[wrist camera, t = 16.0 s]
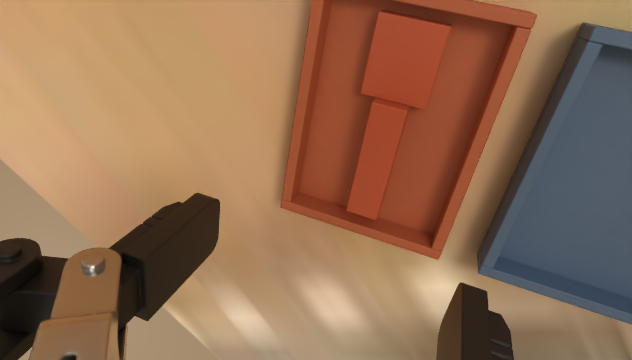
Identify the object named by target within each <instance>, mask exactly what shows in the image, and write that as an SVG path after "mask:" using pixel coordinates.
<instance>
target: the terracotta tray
mask: <svg viewBox="0 0 632 360" xmlns="http://www.w3.org/2000/svg"><path fill="white" fill-rule="evenodd" d="M382 10H386V11H390V12H395V13H400V14H405V15H410V16H414V17H419V18H424V19H429V20H433V21H438V22H443V23H448V24H451V25H452V26H451V29H450V33H449V36H448V39H447V42H446V46H445V49H444V52H443V55H442V59H441V62H440V65H439V68H438V72H437V75H436V78H435V81H434V85H433V88H432V91H431V94H430V98H429V101H428V104H427V107H426V110H422V109H418V108H414V107H411V106H410V110H409V113H408V117H407V120H406V124H405V127H404V131H403V134H402V138H401V141H400V145H399V148H398V152H397V155H396V158H395V162H394V165H393V169H392V172H391V176H390V179H389V183H388V186H387V190H386V193H385V197H384V200H383V204H382V206H381V209H380V212H379V214H378V217H377V219H376V220H374V219H371V218H367V217H364V216H361V215H358V214H355V213H352V212H349V211H346V208H347V204H348V200H349V195H350V191H351V187H352V183H353V179H354V175H355V170H356V166H357V162H358V158H359V154H360V150H361V145H362V141H363V137H364V133H365V129H366V125H367V120H368V116H369V112H370V108H371V104H372V102H373V100H374V99H375V97H371V96H368V95H364V94H361V93H360V92H361V87H362V83H363V78H364V74H365V69H366V65H367V60H368V56H369V51H370V47H371V42H372V38H373V33H374V29H375V24H376V20H377V15H378V12H379V11H382ZM536 17H537V15H536V14H534V13H532V12H528V11H523V10H518V9H513V8H508V7H503V6H498V5H493V4H488V3H483V2H478V1H473V0H312V4H311V11H310V17H309V24H308V31H307V37H306V44H305V50H304V57H303V64H302V70H301V77H300V83H299V90H298V96H297V103H296V110H295V116H294V123H293V129H292V136H291V143H290V149H289V156H288V162H287V169H286V175H285V182H284V189H283V195H282V202H281V208H284V209H287V210H290V211H293V212H296V213H299V214H302V215H305V216H308V217H311V218H314V219H317V220H320V221H323V222H326V223H329V224H332V225H335V226H338V227H341V228H344V229H347V230H350V231H353V232H356V233H359V234H362V235H365V236H368V237H371V238H374V239H377V240H380V241H383V242H386V243H389V244H392V245H395V246H398V247H401V248H404V249H407V250H410V251H413V252H416V253H419V254H422V255H425V256H428V257H431V258H434V259H437V260H438V259H439V257H440V255H441V252H442V250H443V248H444V245H445V243H446V240H447V238H448V235H449V233H450V230H451V228H452V225H453V223H454V220H455V218H456V215H457V213H458V210H459V208H460V205H461V203H462V200H463V198H464V195H465V193H466V191H467V188H468V186H469V183H470V181H471V178H472V176H473V173H474V171H475V168H476V166H477V163H478V161H479V158H480V156H481V153H482V151H483V148H484V146H485V143H486V141H487V138H488V136H489V134H490V131H491V129H492V126H493V124H494V121H495V119H496V116H497V114H498V111H499V109H500V106H501V104H502V101H503V99H504V96H505V94H506V91H507V89H508V86H509V84H510V81H511V79H512V77H513V74H514V72H515V69H516V67H517V64H518V62H519V59H520V57H521V54H522V52H523V49H524V47H525V44H526V42H527V39H528V37H529V34H530V32H531V30H530V29H531V28H532V27H533V24H534V22H535V20H536Z"/></svg>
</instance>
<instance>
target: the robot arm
mask: <svg viewBox="0 0 632 360" xmlns="http://www.w3.org/2000/svg"><path fill="white" fill-rule="evenodd" d="M219 215H220V202H219V200H218V199H215V198H212V197H209V196H206V195H203V194H200V193H195V194H194V195H193V196H191V197H190V198H189V199H188V200H186V201H185V202H184V203H181V202H176V203H174V204H171V205H168V206H165V207H163V208H162V209H160V210H159V211H158V212H156V213H155V214H154V215H152V217H150V218H148V219H147V220H146V221H144V222H143V224H140V225H139V226H138V227H136V228H135V229H134V230H132V231H131V232H130V233H128V234H127V235H126V236H124V237H123V238H122V239H120V240H119V241H118V242H116V243H115V244H114V245H112V246H111V247H110V248H91V249H87V250H83V251H81V252H78V253H77V254H75V255H73V256H72V257H70V258H69V259H67V258H57V257H47V256H42V255H41V250H40V247H39V245H38V243H37V242H35V241H33V240H30V239H25V238H15V239H8V240H3V241H1V242H0V360H18V359H19V358H20V357H21V356H22V355H24V354H25V353H26V352H27V351H28V350H29V349H30V348H31V347H32V346H33V347H32V350H31V353H30V357H29V360H125V358H126V346H127V331H128V326H127V323H128V322H129V321H130V320H131V319H132V318H133V317H134V316H136V317H139V318H141V319H143V320H146V321H149V319H150V318H151V317H152V316H153V315H154V314H155V313H156V312H157V311H158V310H159V309H160V308H161V307H162V306H163V304H164V303H165V302H166V301H167V300H168V299H169V298H170V297H171V296H172V295H173V294H174V293H175V292H176V291H177V289H178V288H179V287H180V286H181V285H182V284H183V283H184V282H185V281H186V280H187V279H188V278H189V277H190V276H191V274H192V273H193V272H194V271H195V270H196V269H197V268H198V267H199V266H200V265H201V264H202V263H203V262H204V261H205V259H206V258H207V257H208V256H209V255H210V254H211V253H212V251H213V250H214V248H215V246H216V243H217V240H218V233H219ZM436 360H514V357H513V350H512V341H511V334H510V330H509V328H508V326H507V324H506V323H505V321H504V319H503V317H502V316H501V314H498V313H495V312H492V311H489V310H488V297H487V292H486V291H485V290H482V289H479V288H476V287H473V286H470V285H467V284H464V283H459V285H458V287H457V289H456V291H455V293H454V295H453V298H452V300H451V302H450V304H449V306H448V309H447V311H446V313H445V315H444V318H443V320H442V323H441V326H440V330H439V335H438V345H437V358H436Z"/></svg>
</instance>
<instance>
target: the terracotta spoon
mask: <svg viewBox="0 0 632 360" xmlns="http://www.w3.org/2000/svg"><path fill="white" fill-rule="evenodd" d="M451 26H452V25H451V24H448V23H443V22H438V21H433V20H429V19H424V18H419V17H414V16H410V15H405V14H400V13H395V12H390V11H386V10H382V11H379V12H378V15H377V20H376V24H375V29H374V33H373V38H372V42H371V47H370V51H369V56H368V60H367V65H366V69H365V74H364V78H363V83H362V87H361V92H360V93H361V94H364V95H368V96H371V97H375V99H374V100H373V102H372V104H371V108H370V112H369V116H368V120H367V125H366V129H365V133H364V137H363V141H362V145H361V150H360V154H359V158H358V162H357V166H356V170H355V175H354V179H353V183H352V187H351V191H350V195H349V200H348V204H347V208H346V211H349V212H352V213H355V214H358V215H361V216H364V217H367V218H371V219H374V220H376V219H377V217H378V214H379V212H380V209H381V206H382V204H383V200H384V197H385V193H386V190H387V186H388V183H389V179H390V176H391V172H392V169H393V165H394V162H395V158H396V155H397V152H398V148H399V145H400V141H401V138H402V134H403V131H404V127H405V124H406V120H407V117H408V113H409V110H410V106H411V107H414V108H418V109H422V110H426V107H427V104H428V101H429V98H430V94H431V91H432V88H433V85H434V81H435V78H436V75H437V72H438V68H439V65H440V62H441V59H442V55H443V52H444V49H445V46H446V42H447V39H448V36H449V33H450V29H451Z"/></svg>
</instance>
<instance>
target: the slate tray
mask: <svg viewBox="0 0 632 360" xmlns="http://www.w3.org/2000/svg"><path fill="white" fill-rule="evenodd" d="M477 260H478V273H479V274H482V275H485V276H488V277H491V278H494V279H497V280H500V281H503V282H506V283H509V284H512V285H515V286H518V287H521V288H524V289H527V290H530V291H533V292H536V293H539V294H542V295H545V296H548V297H551V298H554V299H557V300H560V301H563V302H566V303H569V304H572V305H575V306H578V307H581V308H584V309H587V310H590V311H593V312H596V313H599V314H602V315H605V316H608V317H611V318H614V319H617V320H620V321H623V322H626V323H629V324H632V32H628V31H623V30H618V29H613V28H608V27H603V26H598V25H593V24H588V23H583V24H582V26H581V29H580V31H579V33H578V35H577V37H576V39H575V42H574V44H573V46H572V48H571V50H570V53H569V55H568V57H567V59H566V61H565V63H564V66H563V68H562V70H561V72H560V74H559V77H558V79H557V81H556V83H555V85H554V87H553V90H552V92H551V94H550V96H549V98H548V101H547V103H546V105H545V107H544V109H543V111H542V114H541V116H540V118H539V120H538V122H537V125H536V127H535V129H534V131H533V133H532V135H531V138H530V140H529V142H528V144H527V146H526V149H525V151H524V153H523V155H522V157H521V160H520V162H519V164H518V166H517V168H516V170H515V173H514V175H513V177H512V179H511V181H510V184H509V186H508V188H507V190H506V192H505V194H504V197H503V199H502V201H501V203H500V205H499V208H498V210H497V212H496V214H495V216H494V218H493V221H492V223H491V225H490V227H489V229H488V232H487V234H486V236H485V238H484V240H483V242H482V245H481V247H480V249H479V251H478V253H477Z"/></svg>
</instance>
